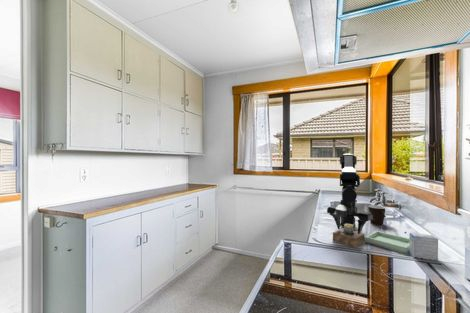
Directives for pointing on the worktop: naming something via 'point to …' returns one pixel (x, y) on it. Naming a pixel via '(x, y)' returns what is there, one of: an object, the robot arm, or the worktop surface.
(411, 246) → the medicine box
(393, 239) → the tray
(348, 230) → the pin
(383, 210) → the coffee mug
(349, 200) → the robot arm
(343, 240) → the brown block with hole
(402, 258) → the worktop surface
